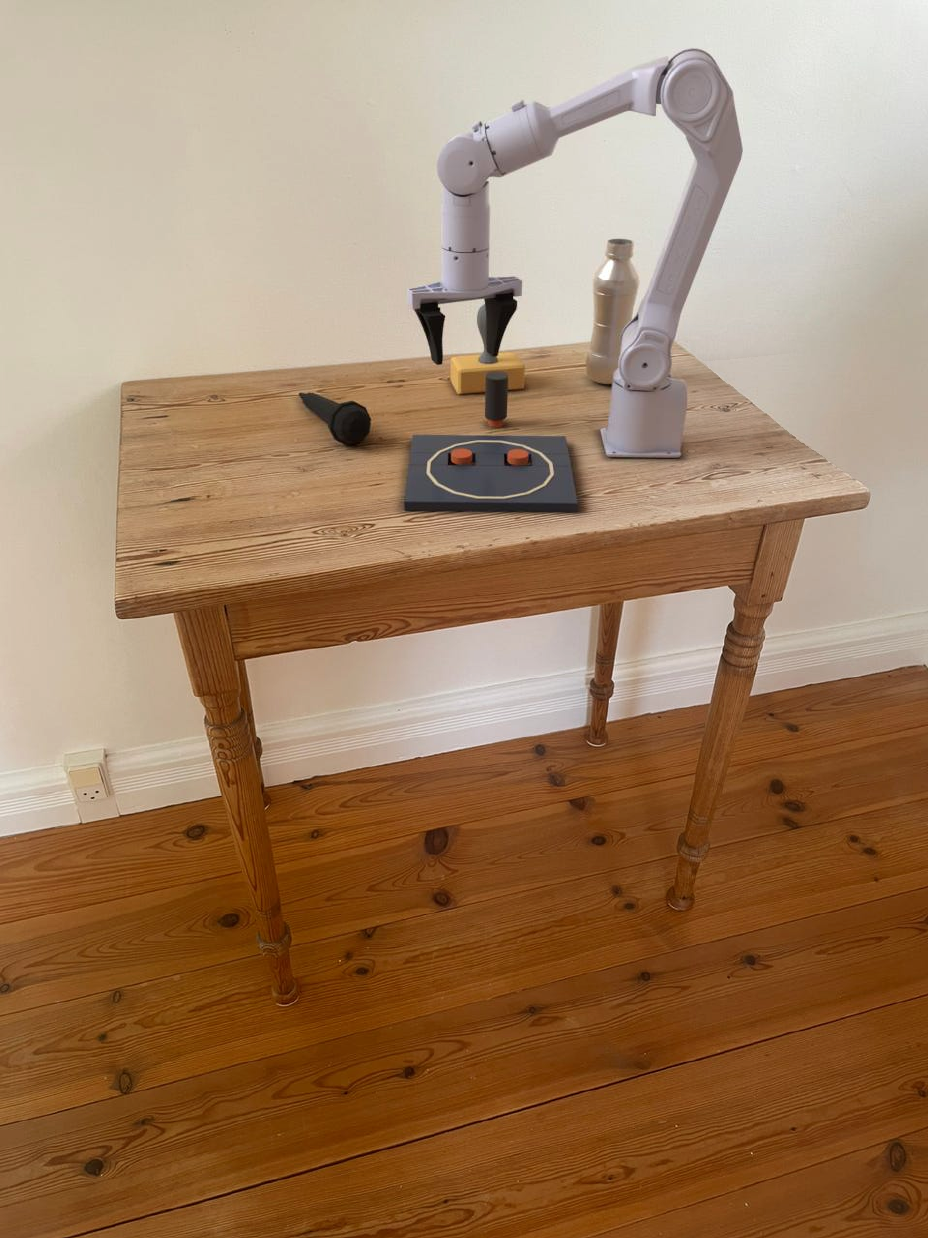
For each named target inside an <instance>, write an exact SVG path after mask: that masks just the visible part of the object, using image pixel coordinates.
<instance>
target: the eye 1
mask: <svg viewBox="0 0 928 1238" xmlns="http://www.w3.org/2000/svg"><path fill="white" fill-rule="evenodd" d="M450 462H452V464H455V465H457V466H467V465H469V464H471V463H472V452H471V451H470V450H468V449H456V450H453V451H452V452H451V461H450Z"/></svg>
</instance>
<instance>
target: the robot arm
mask: <svg viewBox="0 0 928 1238" xmlns="http://www.w3.org/2000/svg"><path fill="white" fill-rule="evenodd" d="M657 105H661V108H662V110H663V112H664V114H665V115H666V117H667V118H668V119H669V121H671V123H672V124H673V125H675V127H676V128H677V129H678V130H679V131H681V132H682V133H683V134H684V136H685V139H686V141H687V143H688V146H689V148H690V151H691V152H692V155H693V157H694V161H693V162H692V166H691V169H690V171H689V174H688V177H687V180H686V182H685V184H684V187H683V191H682V193H681V196H680V198H679V202H678V204H677V207H676V210H675V212H674V215H673V218H672V221H671V223H670V226H669V229H668V232H667V234H666V237H665V240H664V243H663V245H662V247H661V251H660V253H659V257H658V259H657V262H656V264H655V267H654V270H653V273H652V276H651V278H650V281H649V283H648V287H647V288H646V289H647V290H646V292H645V294H644V296H643V298H642V300H641V301H640V303H639V306H638V309H637V311H636V313H635V315H634V316H633V317H632V320H631V321H630V322H629V323H628V324H627V325H626V326H625V327H624V329H623V331H622V333H621V337H620V346H621V353H620V357H619V362H618V369H617V370H616V371H615V372H614V373H613V381H612V384H611V392H610V400H609V401H610V402H609V411H608V421H607V427H602V428H600V430H599V432H600V436H601V440H602V443H603V448H604V451H605V455H606V456H607V457H609V458H671V459H672V458H673V459H675V458H677V459H678V458H680V457H682V453H681V447H682V441H683V435H684V428H685V422H686V416H687V409H688V387H687V386H688V385H687V383H686V381H685V380H684V379H677V378H673V377H672V374H671V370H672V366H673V358H672V347H673V343H674V341H675V338H676V336H677V332H678V327H679V324H680V318H681V314H682V311H683V308H684V306H685V303H686V301H687V298H688V296H689V294H690V291H691V288H692V285H693V283H694V281H695V278H696V276H697V273H698V270H699V269H700V266H701V263H702V260H703V258H704V255H705V253H706V250H707V248H708V245H709V242H710V240H711V238H712V235H713V232H714V230H715V227H716V224H717V223H718V219H719V217H720V214H721V211H722V209H723V206H724V204H725V201H726V199H727V196H728V194H729V191H730V188H731V186H732V184H733V181H734V178H735V176H736V174H737V171H738V169H739V165H740V163H741V161H742V157H743V151H744V150H743V143H742V138H741V137H742V136H741V131H740V126H739V122H738V116H737V111H736V105H735V97H734V91H733V90H732V87H731V86H730V84H729V82H728V80H727V79H726V77H725V76H724V73H723V72H722V70H721V68H720V67H719V65H718V63H717V62H716V60H715V58H714V57H713V56H712V55H711V54H710V53H708V52H707V51H705V50H703V49H702V48H701V49H700V48H696V47H695V48H694V47H692V48H685V49H682V50H681V51H678V52H677V53H675V54H674V55H673V56H672V57H670V59H669V56H668V55H667V56H662V57H659V58H655V59H652V60H649V61H646V62H644V63H643V62H642V63H640V64H638V65H635V66H632V67H630V68H628V69H626V70H624V71H622V72H620V73H618V74H616V75H614V76H611V77H610V78H608V79H605V80H604V81H602V82H600V83H598V84H595V85H593V86H592V87H590V88H587V89H586V90H584V91H581V92H579V93H578V94H575V95H573V96H572V97H569V98H567V99H565V100H564V101H562V102H559V103H558V104H555V105H553V106H546V105H544V104H542V103H540V102H538V101H536V100H533V101H530V102H528V103H525V101H524V99H520V100H518V101H516V102H513V103H512V104H511V106H510V108H511V111H509V112H506V113H504V114H501V115H500V116H498V117H496V118H494V119H491V120H488V121H487V122H485V123H483V122H482V121H481V120H478V121H476V122H473V123H472V124H471V130H472V131H471V130H470V131H469V130H468V131H462V132H459V133H457V134H456V135H454V136H453V137H452V138H451V139H450V140H449V141H448V142H447V143H446V144H445V145H444V146H443V147H442V149H441V150H440V152H439V155H438V157H437V162H436V171H437V175H438V178H439V181H440V183H441V198H442V200H441V203H442V204H441V206H440V213H441V214H440V220H441V221H440V223H441V224H440V225H441V227H440V229H441V231H440V232H441V233H440V234H441V236H440V238H441V240H440V241H441V280H440V281H436V282H433V283H429V284H424V285H421V286H416V287H411V288H410V287H409V288H406V305H407V306H408V307H409V308H410V309H412V310H413V311H414V312H415V315H416V316H417V319H418V321H419V322H420V325H421V327H422V330H423V332H424V335H425V338H426V341H427V344H428V348H429V352H430V358H431V361H432V362H433V363H434V364H435V365H437V366H441V365H443V362H444V361H443V360H444V348H443V346H444V345H443V336H444V328H445V327H444V326H445V321H446V315H445V314H444V313H443V312H441V306H440V307H439V305H444V304H453V303H461V302H469V301H476V300H484V304H485V308H486V319H487V333H486V348H487V352H488V353H489V354H490V355H491V356H493V357H496V356H498V353H500V352H499V351H500V348H501V344H502V341H503V339H504V338H503V337H504V335H505V332H506V330H507V327H508V325H509V323H510V321H511V319H512V318H513V316H514V314H515V313H516V311H517V310H518V300H517V299H515V297H517V298H518V297H522V295H523V280H522V279H521V278H519V277H518V276H515V275H513V276H490V235H491V233H490V231H491V205H490V202H489V201H490V181H489V180H488V179H489V178H499V179H500V178H503V177H505V176H507V175H509V174H512V173H514V172H516V171H518V170H521V169H523V168H525V167H527V166H530V165H532V164H534V163H537V162H539V161H541V160H544V159H546V158H548V157H551V156H552V155H553V153H554V151H555V148H556V146H557V144H558V141H559V140H560V138H563V137H565V136H568V135H570V134H572V133H575V132H577V131H581V130H583V129H586V128H588V127H590V126H593V125H596V124H599V123H601V122H603V121H605V120H608V119H611V118H613V117H616V116H618V115H620V114H623V113H626V112H634V113H638V114H642V115H646V116H650V117H656V115H657Z"/></svg>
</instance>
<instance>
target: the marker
mask: <svg viewBox="0 0 928 1238" xmlns="http://www.w3.org/2000/svg"><path fill="white" fill-rule="evenodd" d="M484 393H485V394H484V397H485V398H484V417H485V419H487V421H488V422H487V425H488V427H491V428H502V427H503V425H504V420H506V419H507V417H508V396H509V395H508V394H509V390H508V374H507V373H504V372H500V371H493V372H489V373H487V374H486V382H485V392H484Z"/></svg>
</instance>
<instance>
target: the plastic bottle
mask: <svg viewBox="0 0 928 1238" xmlns="http://www.w3.org/2000/svg"><path fill="white" fill-rule="evenodd" d="M605 247H606V248H605V251H604V256H605V257H606V258H605V260H604V261H603V262H602V264H600V265H599V267H598V268H597V269H596V271H595V273H594V275H593V278H592V297H593V298H592V299H593V320H592V323H593V324H592V332H591V338H590V344H589V348H588V351H587V355H586V360H585V371H586V374H587V376H588V378H589V380H591V381H592V382H595V383H598V384H603V385H612V381H613V373H614V372H615V371H616V370H617V369H618V362H619V357H620V353H621V346H620V337H621V333H622V331H623V329H624V327H625V326H626V325H627V324H628V323H629V322H630V321H631V320H632V319H633V314H634V308H635V304H636V300H637V296H638V292H639V288H640V284H641V283H640V277H639V274H638V270H637V269H636V267H635V265H634V264H633V262H632V258H633V257H634V253H635V252H634V248H635V241H634V240H631V239H628V238H610V239H608V240H607V241H606V246H605Z"/></svg>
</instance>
